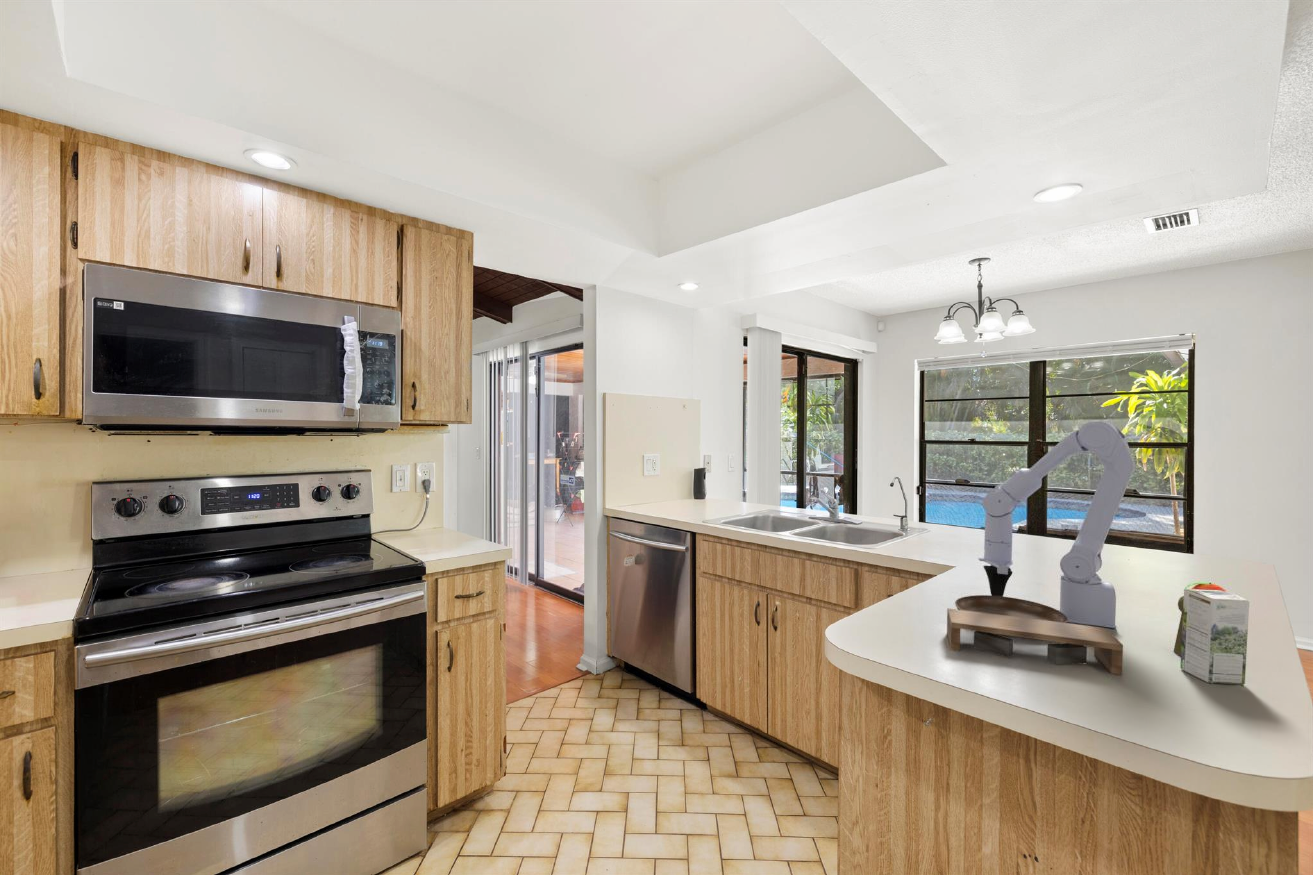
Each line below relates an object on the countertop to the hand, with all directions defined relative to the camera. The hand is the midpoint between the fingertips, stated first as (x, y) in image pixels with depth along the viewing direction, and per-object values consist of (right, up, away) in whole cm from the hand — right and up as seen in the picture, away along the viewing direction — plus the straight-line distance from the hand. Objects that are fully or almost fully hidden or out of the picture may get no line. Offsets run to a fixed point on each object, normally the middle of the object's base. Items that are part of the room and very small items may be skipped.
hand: (996, 596), depth 135 cm
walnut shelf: (-13, -2, -30) cm, 33 cm away
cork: (+18, -2, -31) cm, 36 cm away
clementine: (+46, -2, -5) cm, 46 cm away
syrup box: (+12, -3, -40) cm, 42 cm away
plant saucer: (-6, -2, -14) cm, 15 cm away
